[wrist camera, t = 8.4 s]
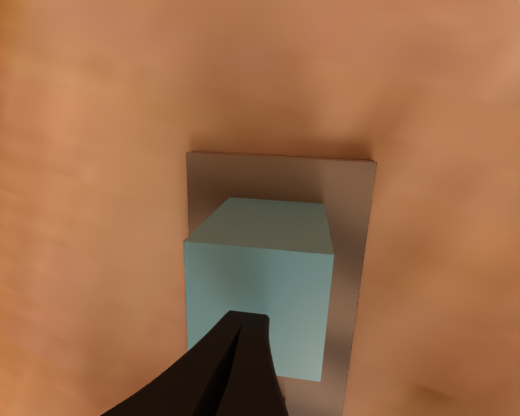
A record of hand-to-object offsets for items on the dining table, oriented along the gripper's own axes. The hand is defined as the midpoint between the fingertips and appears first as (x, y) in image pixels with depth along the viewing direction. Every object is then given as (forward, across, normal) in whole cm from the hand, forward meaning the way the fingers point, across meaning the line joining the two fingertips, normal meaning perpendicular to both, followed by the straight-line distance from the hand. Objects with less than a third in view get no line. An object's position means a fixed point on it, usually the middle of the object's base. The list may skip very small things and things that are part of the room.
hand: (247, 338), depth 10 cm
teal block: (+8, 0, 0) cm, 8 cm away
